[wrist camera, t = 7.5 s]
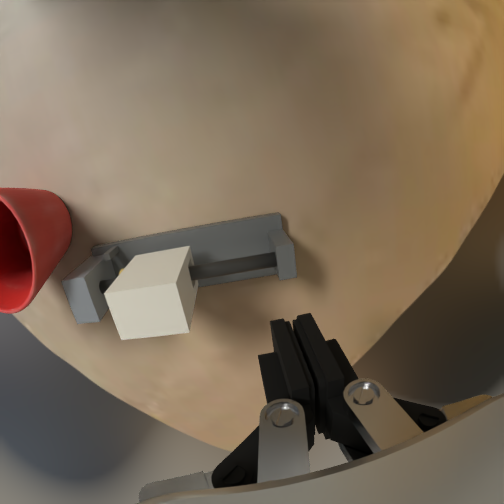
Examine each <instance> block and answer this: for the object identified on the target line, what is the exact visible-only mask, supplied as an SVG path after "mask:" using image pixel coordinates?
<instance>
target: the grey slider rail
mask: <svg viewBox="0 0 504 504" xmlns="http://www.w3.org/2000/svg"><path fill="white" fill-rule="evenodd" d="M185 246H190V249H191V253H192V258H193V262H194V265H193V266H188V268H189V273H190V277H191V281H194V280H198V287H203V286H209V285H215V284H221V283H227V282H234V281H240V280H245V279H251V278H257V277H263V276H269V275H275V274H277V275H278V277H279V280H285V279H290V278H296V277H297V272H296V262H295V252H294V244H293V242H292V241H291V240H290V238H289V237H288V236H287V235H286V233H285V232H284V231H283V229H282V221H281V214H280V213H279V212H278V213H272V214H266V215H259V216H253V217H247V218H241V219H235V220H229V221H223V222H217V223H211V224H206V225H200V226H195V227H189V228H183V229H178V230H173V231H167V232H162V233H157V234H152V235H146V236H141V237H136V238H131V239H126V240H121V241H116V242H111V243H107V244H102V245H97V246H94V247H93V248H91V251H92V255H91V256H90V257H89V258H88V259H87V260H85V261H84V262H83V263H82V264H81V265H79V266H78V267H77V268H76V269H75V270H73V271H72V272H71V273H70V274H69V275H68V276H67V277H65V278H64V279H63V280H62V281H61V282H62V285H63V288H64V291H65V293H66V296H67V299H68V301H69V304H70V307H71V309H72V312H73V314H74V317H75V319H76V322H77V324H81V323H91V322H100V321H101V319H102V318H103V316H104V315H105V313H106V312H107V310H108V309H109V306H108V303H107V301H106V298H105V295H104V293H105V292H106V290H107V289H108V288H109V287H110V285H111V284H112V283H113V282H114V281H115V279H116V278H117V277H118V276H119V274H120V273H121V272H122V271H123V270H124V268H125V267H126V266H127V265H128V264H129V263H130V261H131V260H132V259H133V258H134V257H135V255H141V254H146V253H152V252H157V251H163V250H168V249H174V248H180V247H185Z"/></svg>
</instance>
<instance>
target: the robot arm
mask: <svg viewBox="0 0 504 504" xmlns="http://www.w3.org/2000/svg"><path fill="white" fill-rule="evenodd" d="M270 325H271V332H272V340H273V347H274V352H273V353H267V354H262V355H258V359H259V364H260V370H261V375H262V380H263V385H264V390H265V395H266V400H267V405H265V406H264V407H263V409H262V410H261V413H260V422H259V426H258V427H257V428H256V429H255V430H254V431H253V432H252V433H251V434H250V435H249V436H248V437H247V438H246V439H245V440H244V441H243V442H242V443H241V444H240V445H239V446H238V447H237V448H236V449H235V450H234V451H233V452H232V453H231V454H230V455H229V456H228V457H227V458H225V459H224V460H223V461H222V462H221V463H220V464H219V465H218V466H217V467H216V468H215V470H214V471H211V472H208V473H204V472H203V471H202V472H198V473H194V474H190V475H185V476H181V477H176V478H172V479H167V480H162V481H156V482H152V483H149V484H146V485H145V486H144V487H143V488H142V489H141V491H140V493H139V503H137V504H504V393H503V394H500V395H497V396H494V397H491V396H489V395H479V396H476V397H473V398H470V399H467V400H463V401H460V402H456V403H453V404H449V405H445V406H443V407H442V409H437V408H434V407H429V406H425V405H421V404H417V403H413V402H409V401H404V400H400V399H397V398H393V397H392V396H391V395H390V394H389V393H388V392H387V391H386V390H385V388H384V387H383V386H382V385H381V384H380V383H378V382H377V381H375V380H372V379H366V378H365V379H358V377H357V375H356V373H355V372H354V370H353V368H352V366H351V365H350V363H349V361H348V359H347V358H346V356H345V354H344V352H343V351H342V349H341V347H340V345H339V344H338V342H337V341H336V339H332V340H328V341H325V339H324V337H323V335H322V333H321V332H320V330H319V328H318V326H317V324H316V322H315V320H314V318H313V317H312V315H311V313H308V314H303V315H298V316H297V319H296V320H293V329H292V327H291V324H290V322H289V321H286V322H285V321H284V319H278V320H273V321H270ZM293 331H294V332H293ZM315 425H316V428H317V431H318V433H319V434H320V433H323V434H324V436H325V439H331V440H333V441H336V442H338V444H339V447H340V449H341V451H342V452H343V454H344V456H345V457H346V459H347V461H348V463H344V464H341V465H338V466H334V467H331V468H328V469H324V470H320V471H316V472H312V473H310V463H309V453H308V452H309V450H310V449H311V448H312V446H313V445H314V435H315Z"/></svg>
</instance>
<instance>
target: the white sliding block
mask: <svg viewBox="0 0 504 504" xmlns="http://www.w3.org/2000/svg"><path fill="white" fill-rule="evenodd" d="M193 265H194V262H193V258H192V253H191V249H190V246H185V247H180V248H174V249H168V250H163V251H157V252H152V253H146V254H141V255H135V257H134V258H133V259H132V260H131V261H130V263H129V264H128V265H127V266H126V267H125V268H124V270H123V271H122V272H121V273H120V274H119V276H118V277H117V278H116V279H115V281H114V282H113V283H112V284H111V285H110V287H109V288H108V289H107V290H106V292H105V293H104V295H105V298H106V301H107V303H108V306H109V309H110V312H111V314H112V317H113V320H114V322H115V325H116V328H117V330H118V333H119V335H120V338H121V340H126V339H136V338H146V337H155V336H164V335H173V334H181V333H188V332H190V327H191V322H192V316H193V311H194V305H195V300H196V295H197V290H198V280H194V281H191V277H190V273H189V268H188V266H193Z"/></svg>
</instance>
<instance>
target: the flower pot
mask: <svg viewBox="0 0 504 504" xmlns="http://www.w3.org/2000/svg"><path fill="white" fill-rule="evenodd" d="M71 238H72V223H71V218H70V215H69V212H68V210H67V208H66V207H65V205H64V203H63V201H62V200H61V199H60V198H59V197H58V196H57V195H55V194H54V193H52V192H50V191H47V190H38V189H26V188H0V312H3V313H17V312H19V311H22V310H23V309H25V308H26V307H27V306H28V305H29V304H30V303H31V302H32V300H33V299H34V298H35V296H36V295H37V293H38V292H39V291H40V289H41V288H42V286H43V285H44V283H45V282H46V281H47V279H48V278H49V276H50V275H51V273H52V272H53V270H54V269H55V267H56V266H57V264H58V263H59V261H60V260H61V258H62V257H63V255H64V254H65V253H66V251H67V249H68V247H69V245H70V242H71Z"/></svg>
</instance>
